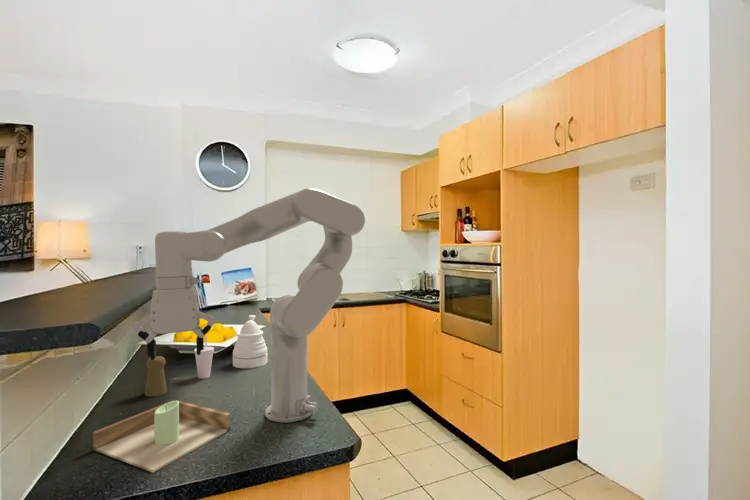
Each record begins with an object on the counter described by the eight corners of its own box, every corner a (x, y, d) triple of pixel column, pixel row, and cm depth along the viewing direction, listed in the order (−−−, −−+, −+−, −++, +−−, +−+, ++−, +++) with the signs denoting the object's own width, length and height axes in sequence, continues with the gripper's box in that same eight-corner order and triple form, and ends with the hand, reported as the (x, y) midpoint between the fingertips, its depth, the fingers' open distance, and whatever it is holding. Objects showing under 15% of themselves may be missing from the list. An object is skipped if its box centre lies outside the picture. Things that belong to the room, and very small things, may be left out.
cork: (157, 397, 114) (157, 360, 114) (139, 395, 116) (139, 359, 116) (171, 390, 120) (171, 355, 120) (154, 388, 122) (154, 353, 122)
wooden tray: (230, 429, 94) (230, 413, 94) (153, 472, 76) (153, 452, 76) (174, 414, 103) (174, 399, 103) (93, 450, 85) (93, 431, 85)
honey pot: (240, 358, 156) (240, 313, 156) (271, 358, 155) (271, 314, 155) (226, 368, 143) (226, 319, 143) (261, 368, 142) (261, 320, 142)
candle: (155, 447, 85) (155, 410, 85) (153, 438, 89) (153, 403, 89) (180, 441, 88) (180, 405, 88) (177, 432, 92) (177, 398, 92)
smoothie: (214, 378, 131) (214, 337, 131) (193, 380, 129) (193, 339, 129) (214, 372, 137) (214, 333, 137) (194, 374, 135) (194, 335, 135)
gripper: (214, 280, 97) (216, 347, 98) (135, 284, 91) (137, 356, 92) (213, 283, 90) (215, 355, 91) (128, 287, 84) (130, 365, 85)
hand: (176, 355), depth 91 cm, fingers open, 9 cm apart
